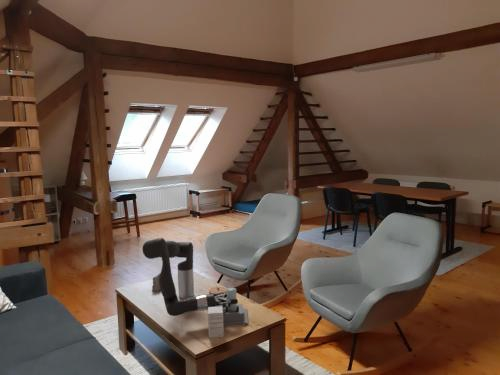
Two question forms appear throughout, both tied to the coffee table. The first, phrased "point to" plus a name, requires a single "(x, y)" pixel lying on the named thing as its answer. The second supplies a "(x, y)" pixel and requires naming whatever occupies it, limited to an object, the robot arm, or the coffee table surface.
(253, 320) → the coffee table surface
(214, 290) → the lidded jar
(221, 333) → the supplement box
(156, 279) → the mineral rock
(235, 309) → the peg
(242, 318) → the socket block
